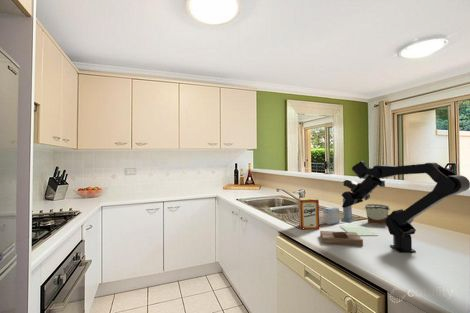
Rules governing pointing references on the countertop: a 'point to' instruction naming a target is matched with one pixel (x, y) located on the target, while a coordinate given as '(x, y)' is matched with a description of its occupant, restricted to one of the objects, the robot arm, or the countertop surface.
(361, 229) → the sage mat
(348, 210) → the lever cap
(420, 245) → the countertop surface
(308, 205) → the baking soda box
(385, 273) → the countertop surface
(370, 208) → the food container
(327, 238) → the brown rectangular frame
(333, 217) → the medicine box
